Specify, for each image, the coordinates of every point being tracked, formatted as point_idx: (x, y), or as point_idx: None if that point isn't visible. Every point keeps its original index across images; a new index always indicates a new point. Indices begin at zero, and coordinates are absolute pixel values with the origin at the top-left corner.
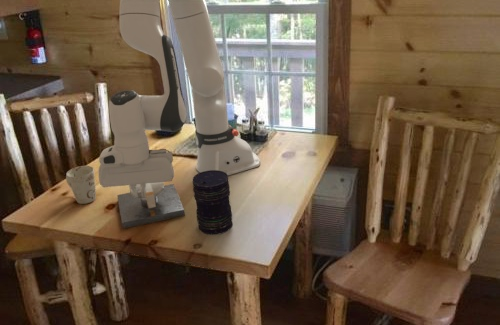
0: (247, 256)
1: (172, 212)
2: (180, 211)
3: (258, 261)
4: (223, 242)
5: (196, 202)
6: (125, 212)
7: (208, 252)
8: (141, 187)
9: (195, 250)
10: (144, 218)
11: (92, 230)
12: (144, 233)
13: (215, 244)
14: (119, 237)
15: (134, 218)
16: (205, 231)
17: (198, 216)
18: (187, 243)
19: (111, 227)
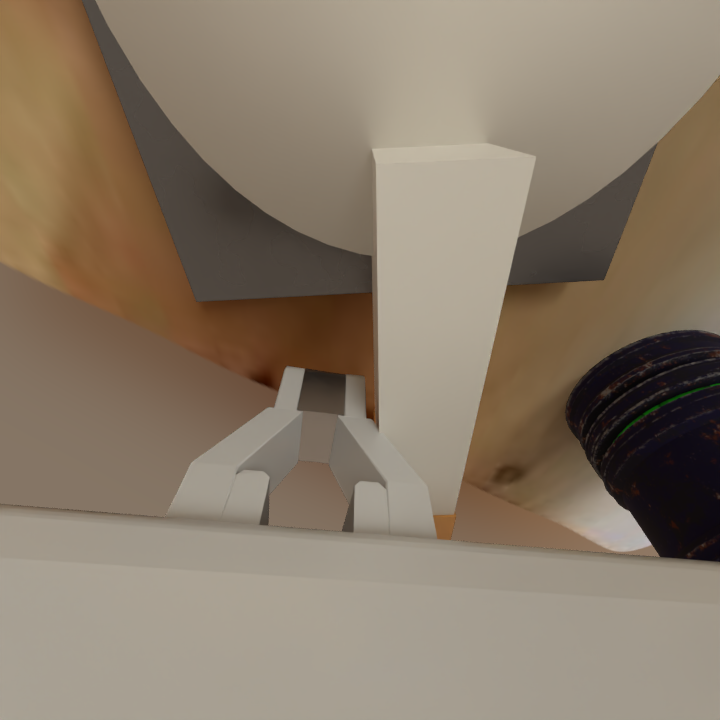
0: (604, 533)
1: (520, 284)
2: (572, 278)
3: (612, 548)
4: (592, 481)
5: (669, 533)
6: (184, 155)
7: (522, 503)
8: (336, 179)
9: (492, 488)
10: (337, 292)
11: (13, 235)
12: (332, 357)
13: (564, 482)
14: (212, 352)
15: (272, 276)
16: (578, 438)
17: (606, 475)
18: (483, 457)
19: (131, 241)
